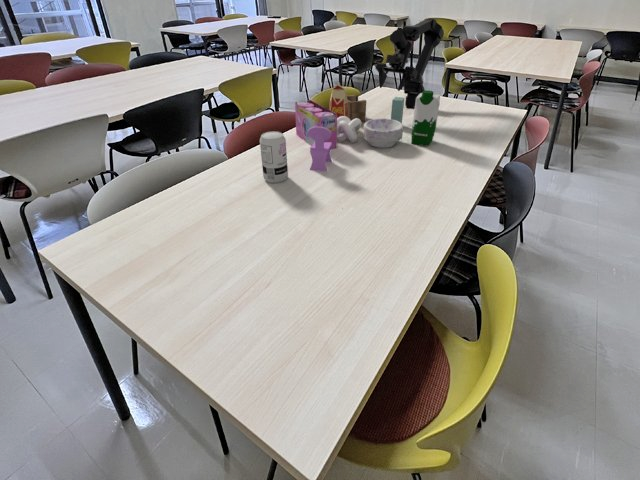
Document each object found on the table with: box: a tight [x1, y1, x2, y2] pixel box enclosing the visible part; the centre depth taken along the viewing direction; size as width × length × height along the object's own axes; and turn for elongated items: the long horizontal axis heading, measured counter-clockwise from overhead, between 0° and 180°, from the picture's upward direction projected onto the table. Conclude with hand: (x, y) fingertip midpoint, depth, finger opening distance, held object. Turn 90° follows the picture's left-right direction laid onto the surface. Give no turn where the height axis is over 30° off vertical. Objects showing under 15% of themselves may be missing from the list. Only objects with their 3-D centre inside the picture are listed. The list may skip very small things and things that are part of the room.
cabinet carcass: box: [347, 94, 367, 123], centre depth 180 cm, size 10×11×10 cm
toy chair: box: [308, 126, 333, 172], centre depth 136 cm, size 8×9×15 cm
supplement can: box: [259, 130, 289, 184], centre depth 127 cm, size 8×8×15 cm
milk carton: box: [328, 81, 349, 133], centre depth 166 cm, size 9×9×20 cm
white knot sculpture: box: [337, 116, 362, 144], centre depth 158 cm, size 11×12×9 cm
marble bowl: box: [363, 118, 404, 149], centre depth 154 cm, size 15×15×8 cm
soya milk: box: [410, 90, 441, 147], centre depth 151 cm, size 9×9×20 cm
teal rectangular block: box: [390, 96, 406, 124], centre depth 170 cm, size 5×4×12 cm
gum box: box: [294, 99, 338, 150], centre depth 156 cm, size 24×8×14 cm, turn 27°
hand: (389, 89), depth 174 cm, fingers open, 9 cm apart
